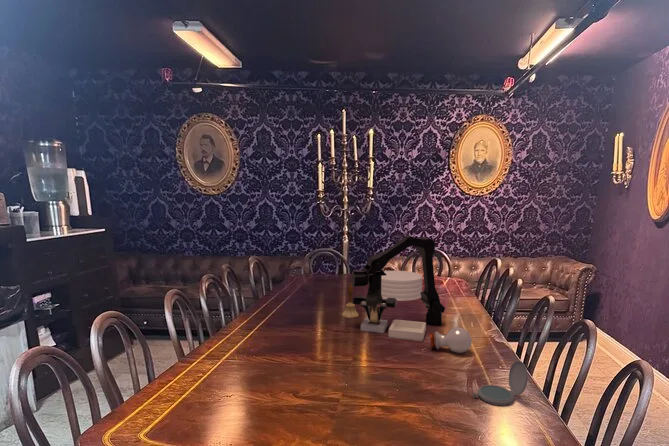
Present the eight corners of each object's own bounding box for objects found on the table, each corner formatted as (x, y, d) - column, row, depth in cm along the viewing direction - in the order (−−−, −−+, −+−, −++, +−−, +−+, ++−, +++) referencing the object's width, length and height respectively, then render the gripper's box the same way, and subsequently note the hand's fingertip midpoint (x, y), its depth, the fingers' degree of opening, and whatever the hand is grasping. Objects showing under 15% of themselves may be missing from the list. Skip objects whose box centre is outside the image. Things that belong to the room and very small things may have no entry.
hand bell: (357, 318, 197) (357, 285, 196) (340, 317, 199) (340, 284, 198) (359, 313, 206) (360, 281, 204) (343, 312, 207) (343, 280, 206)
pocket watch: (531, 369, 117) (478, 369, 117) (529, 406, 118) (477, 407, 117) (515, 355, 127) (466, 355, 126) (513, 389, 128) (465, 390, 127)
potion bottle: (473, 358, 155) (432, 358, 159) (471, 336, 162) (432, 336, 166) (472, 343, 149) (429, 344, 154) (470, 321, 156) (429, 322, 161)
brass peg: (379, 327, 185) (379, 305, 184) (377, 330, 181) (378, 307, 180) (370, 326, 186) (371, 304, 185) (368, 329, 182) (369, 306, 182)
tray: (425, 330, 181) (426, 322, 181) (422, 341, 168) (423, 333, 167) (393, 327, 185) (393, 319, 185) (388, 337, 172) (388, 329, 172)
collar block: (387, 325, 187) (387, 320, 187) (383, 332, 177) (383, 327, 177) (365, 323, 190) (365, 318, 190) (360, 330, 180) (360, 324, 180)
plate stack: (365, 291, 250) (365, 272, 249) (403, 287, 262) (404, 269, 261) (390, 303, 225) (390, 282, 224) (432, 297, 237) (432, 277, 236)
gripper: (349, 288, 177) (349, 323, 178) (393, 291, 172) (392, 328, 173) (355, 282, 188) (355, 316, 189) (397, 285, 182) (396, 320, 184)
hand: (374, 320), depth 183 cm, fingers closed on brass peg, 4 cm apart
